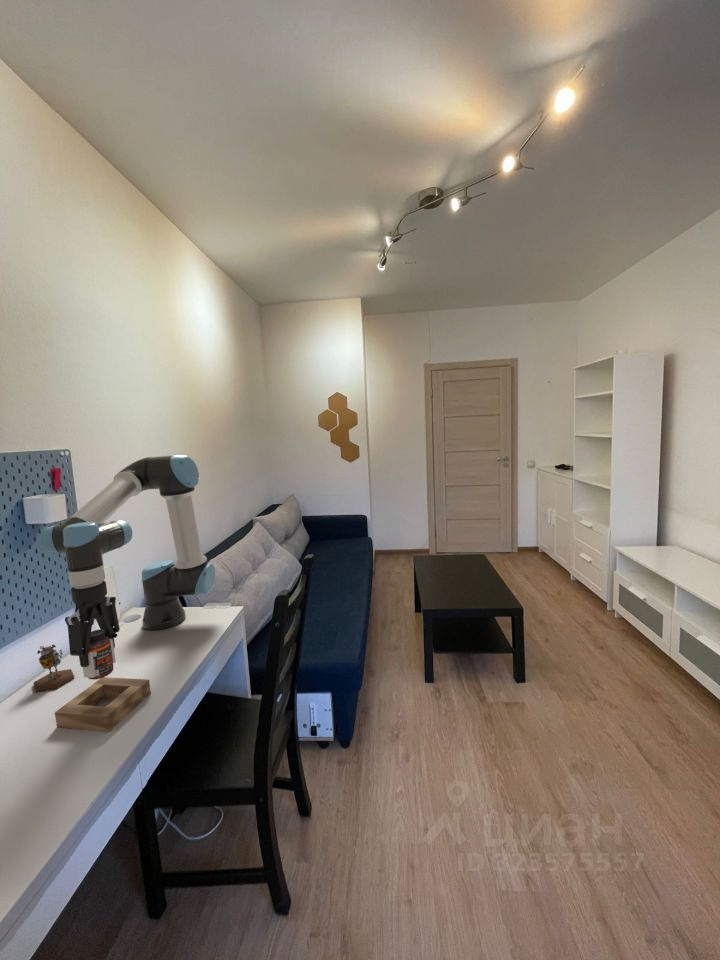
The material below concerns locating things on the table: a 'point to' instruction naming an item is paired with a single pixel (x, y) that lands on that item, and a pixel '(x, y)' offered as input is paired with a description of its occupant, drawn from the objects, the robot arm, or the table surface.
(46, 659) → the robot figurine
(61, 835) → the table surface
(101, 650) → the supplement bottle
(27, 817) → the table surface
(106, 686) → the socket block
